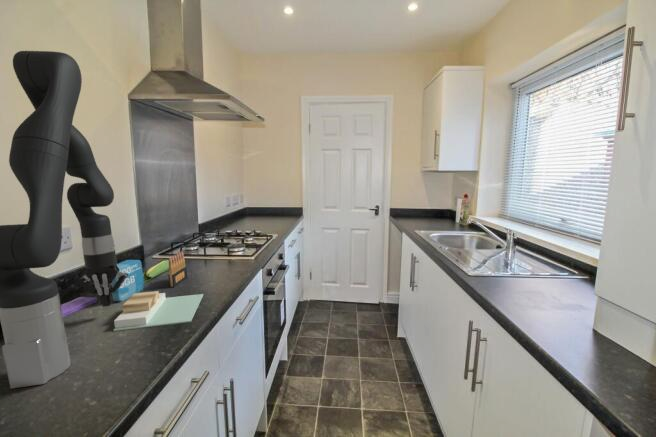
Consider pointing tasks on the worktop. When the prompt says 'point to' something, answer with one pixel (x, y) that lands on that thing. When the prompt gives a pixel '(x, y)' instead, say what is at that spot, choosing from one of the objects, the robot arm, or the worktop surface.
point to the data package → (129, 280)
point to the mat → (172, 312)
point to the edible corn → (156, 270)
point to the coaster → (140, 302)
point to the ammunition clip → (177, 270)
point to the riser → (138, 315)
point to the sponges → (76, 305)
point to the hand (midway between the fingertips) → (107, 305)
